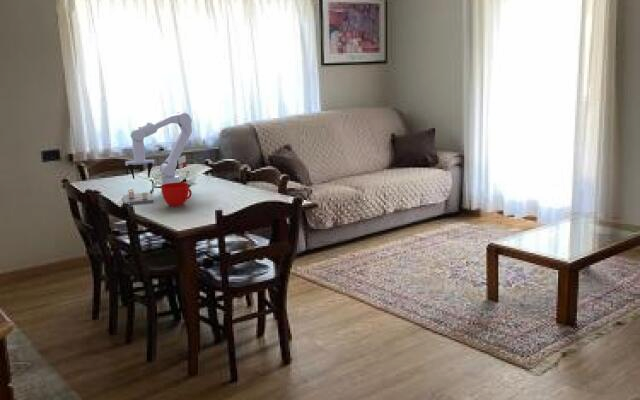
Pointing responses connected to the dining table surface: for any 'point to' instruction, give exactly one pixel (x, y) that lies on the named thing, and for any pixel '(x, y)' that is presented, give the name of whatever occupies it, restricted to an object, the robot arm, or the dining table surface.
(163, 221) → the dining table surface
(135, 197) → the switch base
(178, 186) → the ceramic cup
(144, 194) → the sage knob
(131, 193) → the rose knob
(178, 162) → the red and white box
